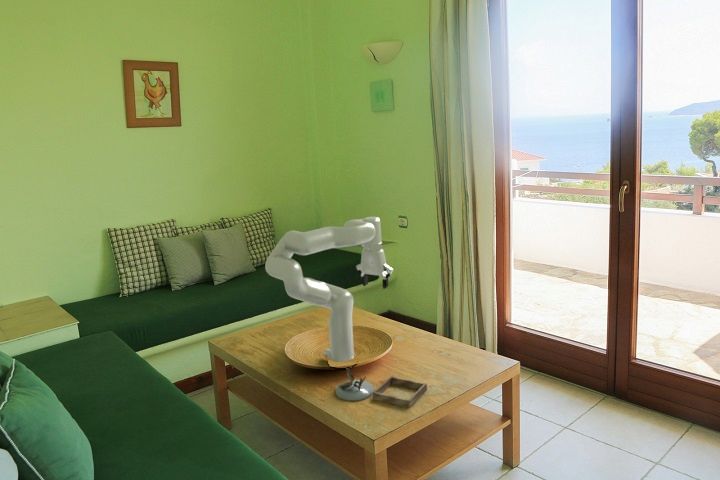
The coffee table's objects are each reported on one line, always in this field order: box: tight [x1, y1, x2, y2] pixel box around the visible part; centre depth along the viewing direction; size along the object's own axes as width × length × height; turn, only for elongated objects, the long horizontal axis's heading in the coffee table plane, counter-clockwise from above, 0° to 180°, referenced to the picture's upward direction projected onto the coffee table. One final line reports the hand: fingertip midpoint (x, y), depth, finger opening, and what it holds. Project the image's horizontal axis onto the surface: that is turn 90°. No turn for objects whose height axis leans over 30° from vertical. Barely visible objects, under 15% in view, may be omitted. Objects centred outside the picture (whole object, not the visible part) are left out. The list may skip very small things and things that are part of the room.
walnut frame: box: [372, 375, 428, 409], centre depth 210 cm, size 15×14×2 cm
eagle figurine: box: [340, 368, 367, 391], centre depth 214 cm, size 8×7×9 cm
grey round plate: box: [335, 379, 375, 402], centre depth 214 cm, size 14×14×1 cm
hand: (375, 286), depth 245 cm, fingers open, 9 cm apart
